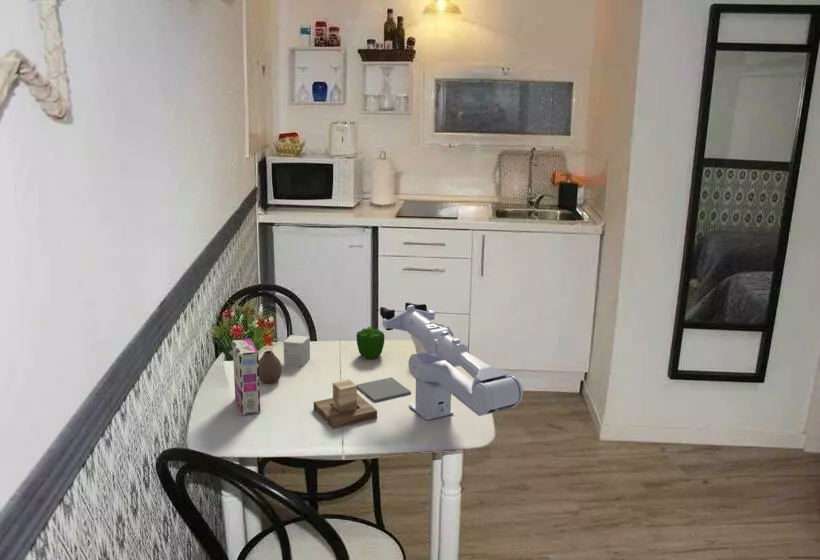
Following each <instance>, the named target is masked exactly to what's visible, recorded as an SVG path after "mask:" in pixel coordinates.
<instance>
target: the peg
mask: <svg viewBox="0 0 820 560" xmlns="http://www.w3.org/2000/svg"><path fill="white" fill-rule="evenodd" d="M356 385H357V384H355V383H354V382H353V381H352V380H351V379H344V380H340V381H335V382H332V398H333V408H334V409H335V410H336V411H337V412H338V413H343V412H347V411H351V410H356V409H357V394H358V392H357V391H358V388H357V386H356Z"/></svg>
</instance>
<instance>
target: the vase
mask: <svg viewBox="0 0 820 560" xmlns="http://www.w3.org/2000/svg"><path fill="white" fill-rule="evenodd" d="M282 373H283V367H282V363H281V361H280V359H279V358H278V357H277V356H276V355H275V354H274V352H273V350H266V351H264V352H263V354H262V356H261V357H259V382H261V383H262V384H264V385H269V386H270V385H274V384H276V383H277V382H279V381H280V379H281V378H282Z"/></svg>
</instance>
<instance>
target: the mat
mask: <svg viewBox="0 0 820 560" xmlns="http://www.w3.org/2000/svg"><path fill="white" fill-rule="evenodd" d="M355 385H356V386H357V390H360V392H362V394H364V395H365V396H366V397H368V399H370V400H371V401H373V403H376V401H377V402H380V401H386V400H389V399H394V398H399V397H403V396H407V395H412V391H410V389H408V388H407V387H405V385H403V384H402V383H400V382H399V381H397V380H396V379H395V378H393V377H387V378H381V379H377V380H373V381H369V382H368V381H367V382H364V383H359V384H355ZM402 395H403V396H402ZM398 396H399V397H398Z"/></svg>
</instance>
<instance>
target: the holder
mask: <svg viewBox="0 0 820 560" xmlns="http://www.w3.org/2000/svg"><path fill="white" fill-rule="evenodd" d="M313 410H314V411H315V412H316V413H317V414H318V415H319V416H320V417H321V419H323V420H324V421H325V422H326V421H327V422H328V423H327V422H326V423H327V424H328V425H329V426H330V428H332V429H335V428H341V427H344V426H348V425H352V424H356V423H357V424H358V423H361V422H365V421H370V420H375V419H378V410H377V409H376V408H375V407H374V406H372V404H370V403H369V402H368V401H367V400H365V399H364V398H363V397H362V396H361V395H360V394H358V393H357V409H356V410H351V411H347V412H343V413H338V412H337V411H336V410H335V409H334V408H333V397H331V398H326V399H321V400H317V401H313Z"/></svg>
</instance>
